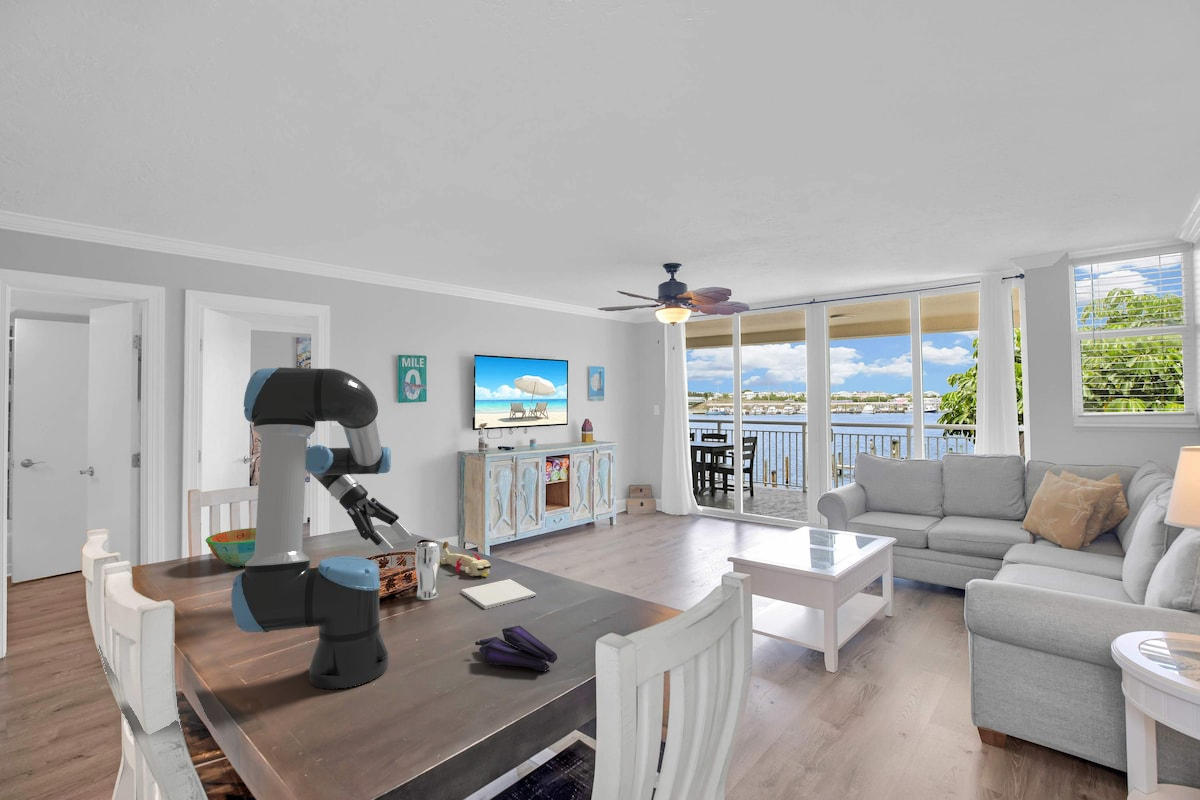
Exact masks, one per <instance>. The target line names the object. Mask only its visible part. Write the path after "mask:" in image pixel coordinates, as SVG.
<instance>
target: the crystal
mask: <svg viewBox="0 0 1200 800" xmlns="http://www.w3.org/2000/svg"><path fill="white" fill-rule="evenodd" d="M501 631H502V635H503V639H502V638H499V637H498V636H492V637H488V638H484V639H480V640H479V641H475V643H474V644H475V646H480V647H479V649H478V650H479V653H480V654H481V656H482V657H483V659H484V661H485V662H486V663H487V664H489V663H490V664H489V665H494V664H500V665H499V666H508V665H509V666H511V667H526V668H529V667H530V669H532V668H534V669H533V670H535V669H537V670H536V671H538V670H539V671H538V672H541V671H545V670H547V669H549V668H550V665H549V664H548V663H551V664H554V663H555V662H556V661H557V660H558V656H557V653H556V652H555V651H553V650H552V649H551V648H550V647H549V646H547V645H546V644H544V643H543V642H542V641H540V640H539V639H538V638H537V637H536V636H534V635H532V634H531V633H530V632H529V631H528V630H526V629H525V628H523V626H521V625H515V626H510V627H504V628H502V630H501ZM547 671H548V670H547Z"/></svg>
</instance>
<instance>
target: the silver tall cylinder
mask: <svg viewBox="0 0 1200 800" xmlns="http://www.w3.org/2000/svg"><path fill="white" fill-rule="evenodd" d="M414 551H415V552H414V553H415V554H414V567H415V573H416V579H417V591H416V599H417V600H419V601H429V600H435V599H436V598H438V597H439V589H438V578H439V573H440V572H439V571H440V566H441V564H440V556H441V550H440V542H437V541H426V542H425V541H424V542H419V543H417V544H415V550H414Z"/></svg>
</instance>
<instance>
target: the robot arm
mask: <svg viewBox="0 0 1200 800" xmlns="http://www.w3.org/2000/svg"><path fill="white" fill-rule="evenodd" d="M243 408H244V409H243V411H244V412H243V414H244V417H245V420H247V422H251V423H252V424H253V429H252V430H253V431H254V432H255V433H256V434H258V435H259V437H260V454H259V471H258V488H257V505H256V506H257V507H256V509H257V510H256V522H255V523H256V525H255V528H256V538H255V553H254V556H253V557H252V558H251V559H250V560H249V561H247V562H246V563H245V567H244V571H242V572H240V573H238V574H237V575H236V576H235V577H234V580H233V582H232V588H231V609H232V615H233V618H234V622H235V623H236V625H237V627H238V628H239V629H240V631H243V632H244V633H265V634H266V633H270V632H274V631H281V630H283V631H284V630H292V629H293V630H294V629H304V628H313V627H318V642H317V645H316V647H315V651H314V654H313V656H312V659H311V661H310V665H309V673H308V676H309V682H310V683H311V685H313V686H314V687H317V688H320V689H324V688H327V689H326V690H339V689H338V688H344V689H348V688H347V687H350V688H352V687H351V686H355V685H359V684H362V685H364V684H363V683H365V684H367V683H366V682H368V681H370V680H372V681H374V680H376V679H378V678H380V677H381V676H382V675H384V673H385V672H386V671H387V670H388V668H389V653H388V650H387V646H386V645H385V642H384V638H383V635H382V633H381V630H380V629H381V627H380V618H381V617H380V589H381V586H382V585H381V581H380V569H379V566H378V565H377V563H376V562H374V561H373V560H371V559H367V558H364V557H359V556H349V555H347V556H345V555H343V556H342V555H340V556H335V557H327V558H324V559H322V560H321V561H320V562H319V564H318V566H317V567H310V564H311V561H310V560H311V558H310V557H309V556H308V555H307V554H306V553H304V551H303V538H304V535H303V534H304V519H305V518H304V516H305V515H304V514H305V511H304V510H305V494H306V493H305V492H306V491H305V490H306V489H305V488H306V472H308V474H311V475H312V476H313V477H314V478H315V479H316V480H317V481H318V482H319V483H320V484H321V485H322V486H323V487H324V488H325V490H327V491H328V492H329V494H330V496H331V497H334V499H335V500H336V501H339V504H340V505H341V506H342V507H343V508H344V509H345V510H346V513H347V515H348V516H349V517H350V519H351V520H352V522H353V524H354V526H355V528H356V529H357V531H358V533H359V535H360V537H361V538H362V539H364V540H365V541H367V540H369V539H370V541H371V542H372V543H373V544H375V546H376V547H377V548H378V549H379V550H380V551H381V552H382V553H383V554H384V555H385V556H386V555H388V554H389V552H390V551H392V550H393V549H394V546H392V544H391V543H390V542H389V541H388V540H387V539H386V538H385V537H384V536H383V535H382V534H381V533H380V532H379V531H378V530H376V531H375V527H374V525H373V522H372V519H371V518H376V519H377V520H380V521H381V522H384V523H385V524H387V525H389V528H390V529H391V530H392V531H393V532H394V533H395V534H396V535H397V536H398V537H399V538H400V539H401V541H403V543H406V542H407V541H408V540H409V539H410V538H411V537H412V534H411V532H410V531H408V530H407V529H406V528H405V527H404V526H403V525H402V524H401V523H400V521H399V519H400V517H399V515H398V514H397V513H395V512H394V511H392V510H391V509H389V508H388V507H387V506H385V505H383V504H382V503H381V502H379V501H378V500H377V499H376V498H375V497H372V498H370V500H369V498H368V497H367V496H368V494H369V492H368V490H367V489H365V487H364V486H363V485H362V484H359V481H358V480H357V478H355V477H354V476H353V475H379V474H386V473H389V472H390V471H391V467H392V466H391V464H392V452H391V449H390V447H387V446H382V445H381V440H380V435H379V431H378V430H379V429H378V425H377V416H378V413H379V407H378V401H377V399H376V396H375V394H374V393H373V391H372V390H371V389H370V388H369V387H368V386H367V385H366V384H365V383H364V382H363V381H361V380H360V379H359V378H357V377H356V376H354V375H352V374H350V373H349V372H346V371H344V370H341V369H335V368H313V367H311V368H310V367H309V368H306V367H305V368H304V367H302V368H301V367H281V366H278V367H269V368H268V367H267V368H265V367H264V368H260V369H257V370H256V371H255V372H254V373H253V374H252V376H250V378H249V380H248V383H247V385H246V389H245V393H244V399H243ZM316 422H337V424H339V425H340V426H342V428H343V430H344V431H343V432H344V434H345V437H346V441H347V442H348V446H349V447H327V446H325V445H320V444H316V445H313V446H312V445H311V446H310V447H307V446H308V437H309V436H311V435H312V433H314V432H315V431H316ZM380 675H381V676H380ZM377 677H378V678H377ZM375 678H376V679H375ZM373 679H374V680H373ZM370 682H371V681H370ZM368 683H369V682H368ZM359 686H360V685H359ZM355 687H356V686H355ZM335 688H336V689H335Z"/></svg>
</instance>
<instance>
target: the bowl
mask: <svg viewBox="0 0 1200 800" xmlns="http://www.w3.org/2000/svg"><path fill="white" fill-rule="evenodd" d="M255 538H256V527H248V528H239V529H233V530H229V531H228V530H227V531H223V532H222V531H221V532H219V533H215V534H212V535H209V536H208V537H207V538H205V543H207V545H208V547H209V548H210V551H211V553H212V554H213V555H214V556H215V557H216V559H218V560H219V562H220V561H221V562H222V563H223V564H227V565H230V566H232V567H234V566H235V567H234V568H241V567H240V566H245V563H246V562H247V561H249V560H250V559H251V558H252V557H253V556H254V553H255Z"/></svg>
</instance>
